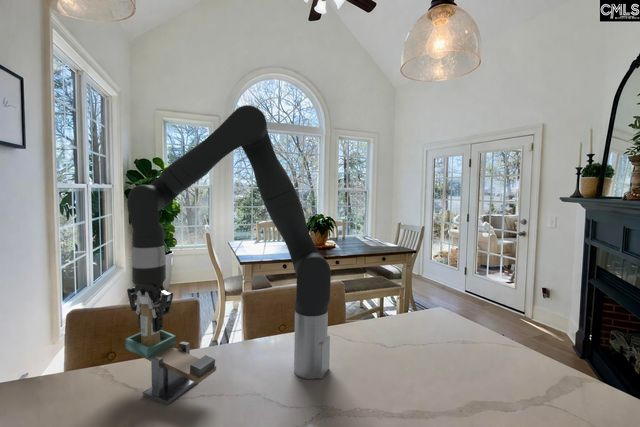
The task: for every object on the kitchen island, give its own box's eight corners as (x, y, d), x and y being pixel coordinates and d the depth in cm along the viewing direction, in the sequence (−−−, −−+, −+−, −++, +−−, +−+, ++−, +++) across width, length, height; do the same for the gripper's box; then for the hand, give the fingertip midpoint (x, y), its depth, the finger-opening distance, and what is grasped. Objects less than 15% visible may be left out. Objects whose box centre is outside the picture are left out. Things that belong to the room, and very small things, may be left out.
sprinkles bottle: (161, 346, 82) (160, 295, 81) (141, 351, 80) (140, 298, 79) (158, 339, 86) (158, 290, 85) (139, 343, 83) (138, 292, 83)
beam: (218, 368, 80) (220, 354, 79) (194, 386, 72) (196, 371, 72) (152, 338, 88) (153, 326, 88) (124, 352, 81) (125, 338, 80)
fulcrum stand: (198, 382, 84) (198, 344, 83) (167, 405, 74) (166, 363, 74) (175, 375, 87) (175, 339, 86) (142, 396, 78) (142, 356, 77)
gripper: (182, 263, 82) (182, 328, 83) (142, 258, 88) (143, 319, 89) (157, 269, 75) (158, 340, 76) (115, 263, 81) (117, 329, 82)
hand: (150, 328), depth 83 cm, fingers closed on sprinkles bottle, 4 cm apart
